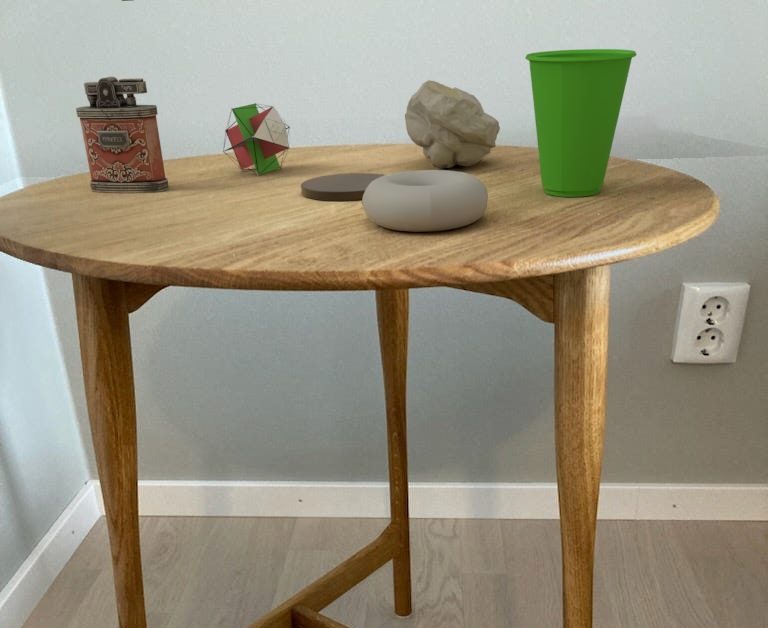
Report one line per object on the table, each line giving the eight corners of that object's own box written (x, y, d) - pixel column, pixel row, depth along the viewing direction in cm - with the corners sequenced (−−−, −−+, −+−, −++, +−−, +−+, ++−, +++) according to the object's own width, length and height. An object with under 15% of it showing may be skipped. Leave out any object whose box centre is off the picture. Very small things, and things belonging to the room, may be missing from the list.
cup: (637, 184, 82) (650, 48, 77) (604, 205, 76) (615, 57, 70) (543, 179, 86) (549, 49, 81) (504, 197, 80) (508, 57, 74)
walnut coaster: (297, 202, 81) (296, 193, 81) (306, 183, 89) (305, 174, 89) (397, 198, 81) (397, 189, 81) (397, 180, 89) (397, 171, 89)
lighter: (84, 192, 90) (62, 80, 85) (101, 185, 93) (81, 76, 88) (159, 192, 88) (142, 78, 83) (174, 185, 91) (158, 74, 86)
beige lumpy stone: (468, 153, 102) (387, 171, 99) (459, 71, 98) (375, 88, 95) (526, 159, 92) (439, 179, 89) (520, 68, 88) (428, 86, 85)
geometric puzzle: (196, 153, 94) (226, 85, 89) (235, 142, 100) (266, 78, 94) (247, 199, 94) (280, 135, 89) (283, 186, 99) (316, 125, 94)
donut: (455, 205, 79) (346, 215, 76) (456, 162, 77) (344, 172, 74) (509, 228, 71) (389, 242, 68) (512, 182, 69) (388, 193, 66)
